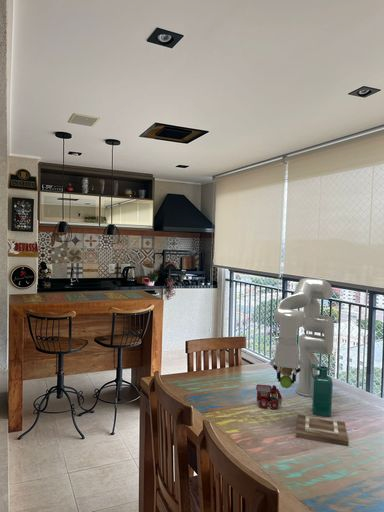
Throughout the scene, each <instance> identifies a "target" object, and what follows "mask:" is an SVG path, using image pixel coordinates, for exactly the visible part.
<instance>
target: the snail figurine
mask: <svg viewBox="0 0 384 512" xmlns="http://www.w3.org/2000/svg"><path fill="white" fill-rule="evenodd" d="M280 372H281V378H280V382H279V384H280V386H281V387H282V388H284V389H289V388H291V387H292V385H293V383H292V378H291V376H292V375H293V369H292V368H284V367H280Z"/></svg>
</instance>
